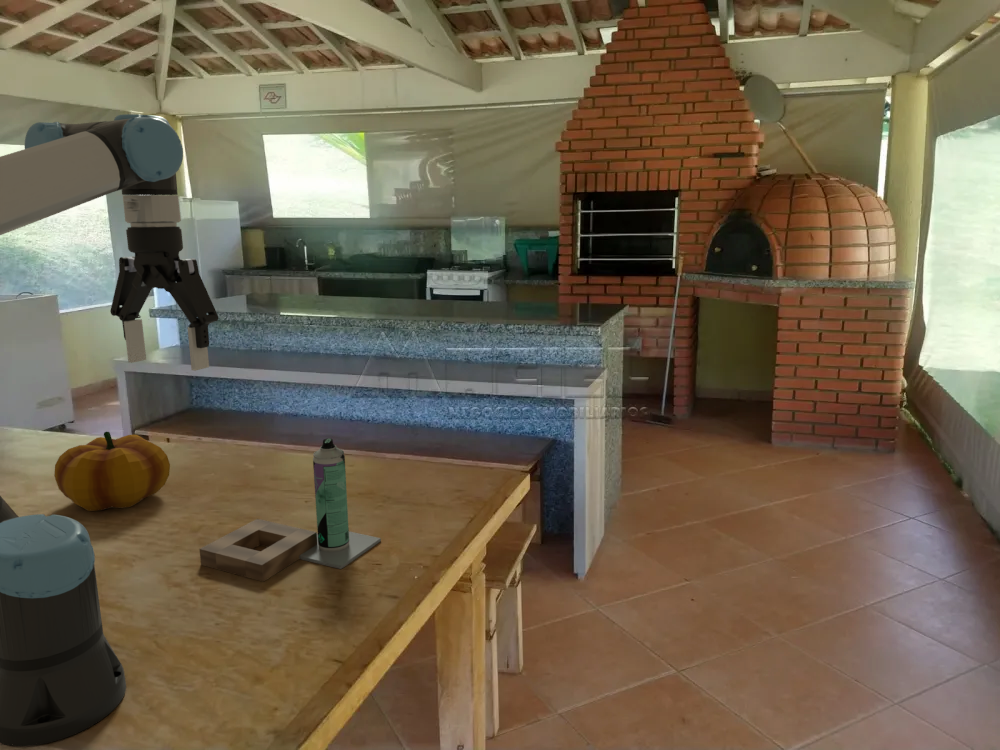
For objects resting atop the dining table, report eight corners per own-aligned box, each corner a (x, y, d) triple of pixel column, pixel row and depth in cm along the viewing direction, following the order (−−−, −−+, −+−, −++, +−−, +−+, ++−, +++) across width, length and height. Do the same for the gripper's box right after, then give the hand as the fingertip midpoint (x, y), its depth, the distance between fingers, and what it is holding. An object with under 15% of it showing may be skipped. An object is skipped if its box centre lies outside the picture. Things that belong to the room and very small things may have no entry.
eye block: (263, 581, 124) (261, 565, 123) (201, 564, 130) (199, 548, 129) (317, 547, 136) (316, 532, 136) (258, 533, 142) (257, 518, 142)
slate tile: (340, 569, 128) (340, 565, 128) (286, 555, 133) (285, 552, 133) (380, 541, 139) (380, 538, 139) (328, 529, 144) (328, 526, 144)
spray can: (345, 536, 139) (339, 433, 135) (352, 548, 135) (347, 442, 130) (315, 542, 137) (309, 437, 133) (321, 554, 132) (315, 446, 128)
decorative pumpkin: (34, 516, 151) (23, 445, 147) (114, 478, 171) (106, 415, 168) (120, 526, 146) (111, 452, 142) (191, 485, 167) (184, 421, 163)
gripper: (74, 225, 113) (91, 362, 118) (195, 226, 103) (209, 377, 108) (117, 223, 120) (132, 353, 125) (235, 225, 109) (247, 367, 114)
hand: (168, 365), depth 116 cm, fingers open, 13 cm apart
